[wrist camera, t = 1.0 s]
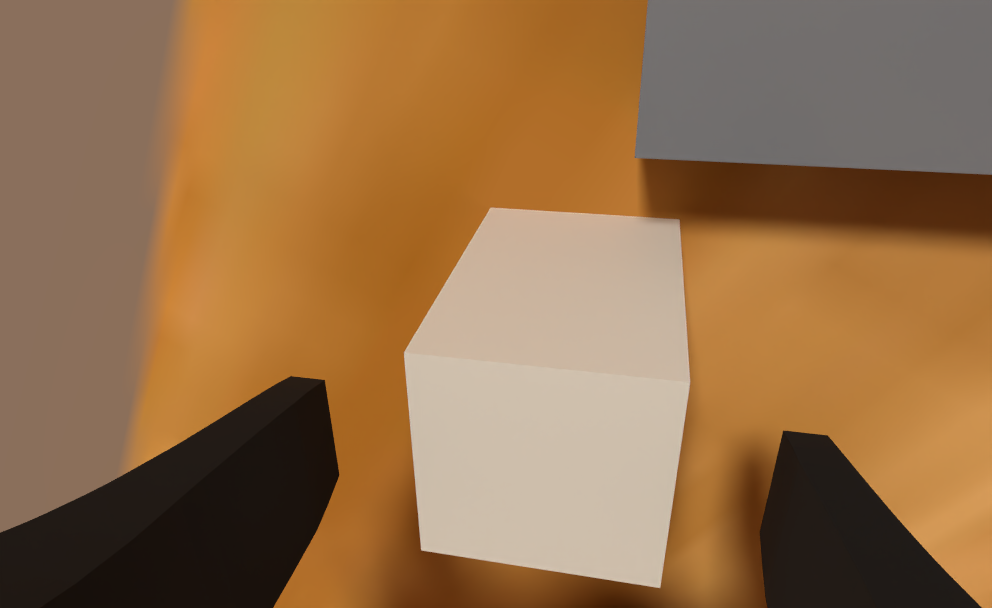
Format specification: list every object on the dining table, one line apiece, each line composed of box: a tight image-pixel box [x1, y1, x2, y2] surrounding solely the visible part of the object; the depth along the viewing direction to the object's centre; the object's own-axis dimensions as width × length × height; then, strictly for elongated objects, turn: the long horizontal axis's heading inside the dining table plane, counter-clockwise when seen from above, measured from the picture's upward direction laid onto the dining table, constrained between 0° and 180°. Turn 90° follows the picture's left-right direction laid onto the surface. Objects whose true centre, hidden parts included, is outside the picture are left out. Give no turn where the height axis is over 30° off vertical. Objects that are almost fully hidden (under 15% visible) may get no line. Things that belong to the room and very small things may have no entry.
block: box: [404, 208, 690, 588], centre depth 13 cm, size 4×4×6 cm
